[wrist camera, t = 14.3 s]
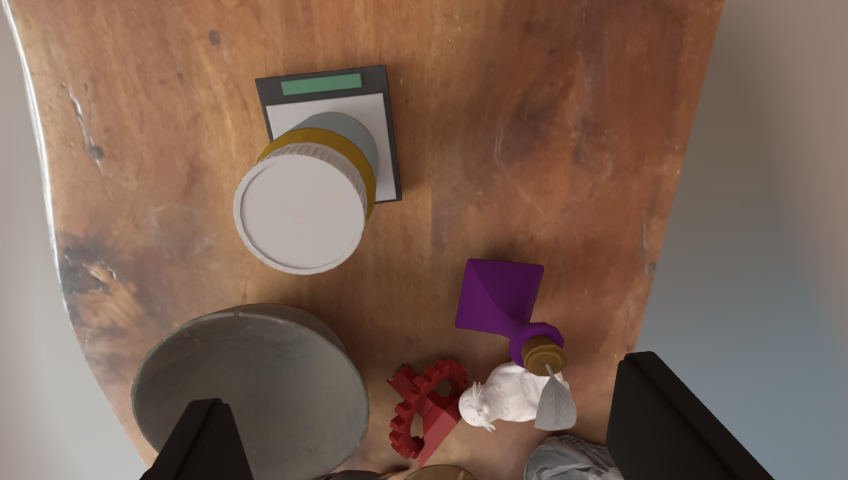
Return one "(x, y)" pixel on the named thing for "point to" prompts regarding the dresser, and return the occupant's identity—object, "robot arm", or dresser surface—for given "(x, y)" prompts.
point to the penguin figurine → (504, 396)
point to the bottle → (309, 195)
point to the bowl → (260, 387)
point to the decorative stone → (570, 461)
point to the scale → (343, 93)
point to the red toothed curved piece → (426, 408)
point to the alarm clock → (440, 473)
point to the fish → (358, 475)
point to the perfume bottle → (518, 329)
